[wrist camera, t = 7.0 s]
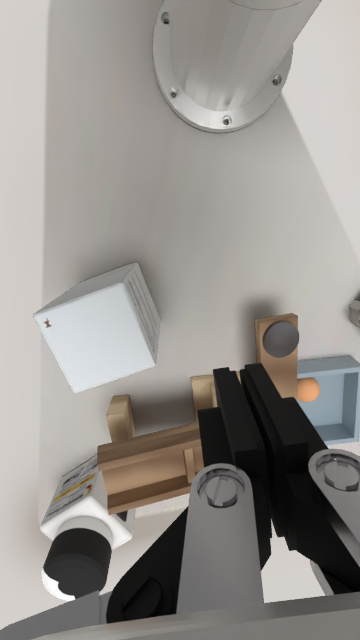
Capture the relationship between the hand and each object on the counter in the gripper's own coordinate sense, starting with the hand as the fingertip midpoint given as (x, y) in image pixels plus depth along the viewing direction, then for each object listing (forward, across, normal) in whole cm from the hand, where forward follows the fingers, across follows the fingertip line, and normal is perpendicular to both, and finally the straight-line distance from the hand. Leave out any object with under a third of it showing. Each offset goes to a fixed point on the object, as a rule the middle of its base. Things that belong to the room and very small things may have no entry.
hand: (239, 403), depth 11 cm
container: (+25, +17, +27) cm, 40 cm away
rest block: (+25, +11, +17) cm, 32 cm away
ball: (+23, -11, +15) cm, 30 cm away
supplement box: (+25, +9, +2) cm, 27 cm away
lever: (+18, +2, +13) cm, 22 cm away
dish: (+25, -12, +18) cm, 33 cm away
